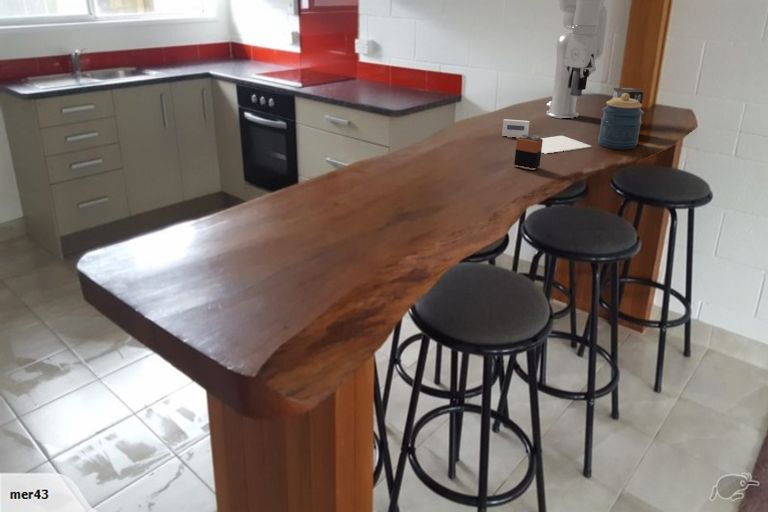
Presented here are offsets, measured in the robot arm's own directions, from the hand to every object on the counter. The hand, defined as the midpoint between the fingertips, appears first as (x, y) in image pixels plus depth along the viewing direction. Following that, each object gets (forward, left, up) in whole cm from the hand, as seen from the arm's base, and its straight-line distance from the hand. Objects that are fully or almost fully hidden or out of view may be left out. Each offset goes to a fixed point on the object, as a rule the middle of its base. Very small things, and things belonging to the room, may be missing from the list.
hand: (576, 88), depth 207 cm
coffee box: (+1, +23, -18) cm, 30 cm away
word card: (-12, -15, -18) cm, 26 cm away
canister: (+11, +11, -18) cm, 24 cm away
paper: (+2, -9, -18) cm, 20 cm away
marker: (0, 0, -2) cm, 2 cm away
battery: (+18, -33, -18) cm, 42 cm away
